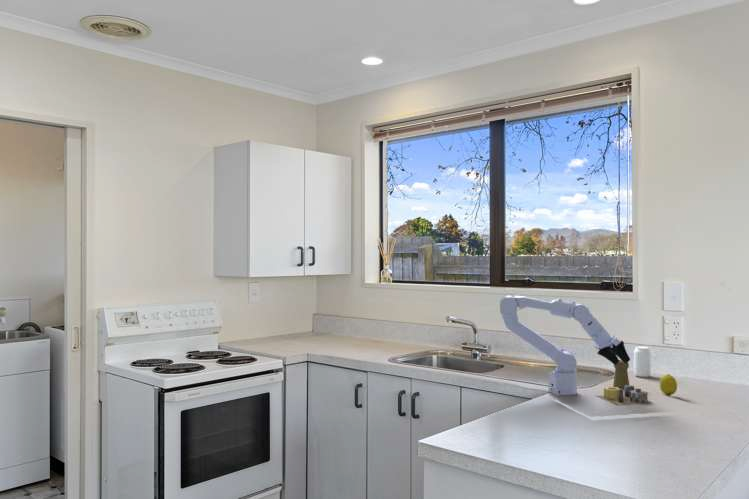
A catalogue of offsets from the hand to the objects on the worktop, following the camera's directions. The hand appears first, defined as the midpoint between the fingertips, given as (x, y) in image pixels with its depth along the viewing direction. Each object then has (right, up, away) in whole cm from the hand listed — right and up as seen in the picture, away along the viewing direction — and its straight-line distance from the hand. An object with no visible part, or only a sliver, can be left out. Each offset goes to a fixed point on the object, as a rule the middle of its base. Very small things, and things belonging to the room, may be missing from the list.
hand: (622, 362), depth 213 cm
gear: (-5, -12, -3) cm, 13 cm away
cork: (+4, -13, +12) cm, 18 cm away
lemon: (+17, -13, +1) cm, 21 cm away
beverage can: (+23, -12, +34) cm, 43 cm away
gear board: (-2, -12, -6) cm, 14 cm away
